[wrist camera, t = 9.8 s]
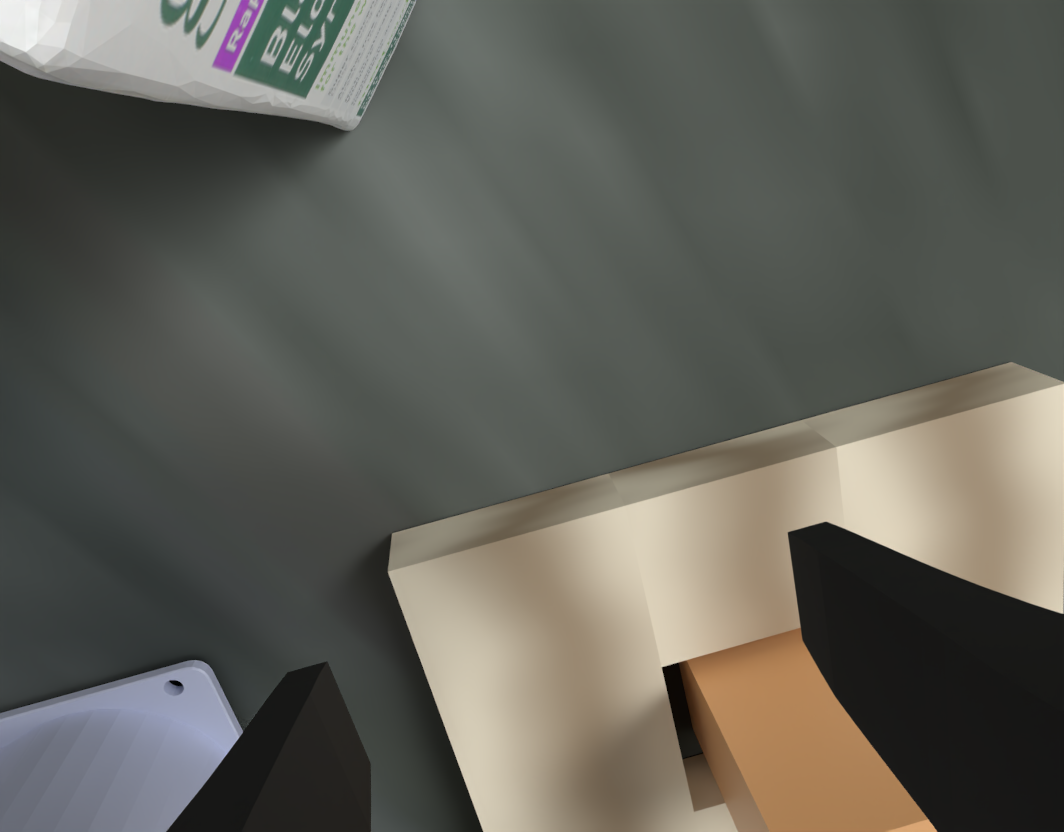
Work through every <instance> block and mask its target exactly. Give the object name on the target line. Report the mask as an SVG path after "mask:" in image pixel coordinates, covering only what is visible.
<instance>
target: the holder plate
mask: <svg viewBox="0 0 1064 832" xmlns="http://www.w3.org/2000/svg"><path fill="white" fill-rule="evenodd" d="M822 522H829V523H831V524H834V525H837V526H839V527H842V528H844V529H846V530H849V531H851V532H853V533H856V534H858V535H860V536H863V537H865V538H867V539H870V540H872V541H874V542H876V543H879V544H881V545H883V546H886V547H888V548H890V549H892V550H895V551H897V552H899V553H902V554H904V555H906V556H909V557H911V558H913V559H916V560H918V561H920V562H923V563H925V564H927V565H930V566H932V567H935V568H937V569H939V570H942V571H944V572H947V573H949V574H952V575H954V576H957V577H959V578H962V579H965V580H967V581H970V582H972V583H975V584H978V585H980V586H983V587H985V588H988V589H991V590H994V591H997V592H999V593H1002V594H1005V595H1008V596H1011V597H1014V598H1016V599H1019V600H1022V601H1025V602H1028V603H1030V604H1033V605H1036V606H1040V607H1043V608H1046V609H1049V610H1052V611H1055V612H1058V613H1062V614H1063V573H1064V382H1062V381H1059V380H1057V379H1054V378H1052V377H1049V376H1046V375H1044V374H1041V373H1039V372H1036V371H1033V370H1031V369H1028V368H1025V367H1023V366H1020V365H1018V364H1015V363H1012V362H1010V363H1006V364H1002V365H999V366H995V367H992V368H988V369H984V370H981V371H977V372H973V373H970V374H966V375H963V376H959V377H955V378H952V379H948V380H945V381H941V382H937V383H934V384H930V385H926V386H923V387H919V388H916V389H912V390H908V391H905V392H901V393H898V394H894V395H890V396H887V397H883V398H879V399H876V400H872V401H869V402H865V403H861V404H858V405H854V406H851V407H847V408H843V409H840V410H836V411H832V412H829V413H825V414H822V415H818V416H814V417H811V418H807V419H804V420H800V421H796V422H793V423H789V424H786V425H782V426H778V427H775V428H771V429H767V430H764V431H760V432H757V433H753V434H749V435H746V436H742V437H739V438H735V439H731V440H728V441H724V442H720V443H717V444H713V445H710V446H706V447H702V448H699V449H695V450H692V451H688V452H684V453H681V454H677V455H673V456H670V457H666V458H663V459H659V460H655V461H652V462H648V463H645V464H641V465H637V466H634V467H630V468H627V469H623V470H619V471H616V472H612V473H608V474H605V475H601V476H598V477H594V478H590V479H587V480H583V481H580V482H576V483H572V484H569V485H565V486H561V487H558V488H554V489H551V490H547V491H543V492H540V493H536V494H533V495H529V496H525V497H522V498H518V499H514V500H511V501H507V502H504V503H500V504H496V505H493V506H489V507H486V508H482V509H478V510H475V511H471V512H467V513H464V514H460V515H457V516H453V517H449V518H446V519H442V520H439V521H435V522H431V523H428V524H424V525H421V526H417V527H413V528H410V529H406V530H402V531H399V532H395V533H392V539H391V547H390V556H389V565H388V574H389V577H390V579H391V582H392V585H393V587H394V590H395V593H396V596H397V598H398V601H399V604H400V606H401V609H402V612H403V615H404V617H405V620H406V623H407V625H408V628H409V631H410V634H411V636H412V639H413V642H414V645H415V647H416V650H417V653H418V655H419V658H420V661H421V664H422V666H423V669H424V672H425V674H426V677H427V680H428V683H429V685H430V688H431V691H432V693H433V696H434V699H435V702H436V704H437V707H438V710H439V712H440V715H441V718H442V721H443V723H444V726H445V729H446V731H447V734H448V737H449V740H450V742H451V745H452V748H453V750H454V753H455V756H456V759H457V761H458V764H459V767H460V769H461V772H462V775H463V778H464V780H465V783H466V786H467V789H468V791H469V794H470V797H471V799H472V802H473V805H474V808H475V810H476V813H477V816H478V818H479V821H480V824H481V827H482V829H483V832H738V830H737V828H736V826H735V824H734V821H733V819H732V817H731V815H730V812H729V810H728V808H727V805H726V803H725V801H724V799H723V796H722V794H721V792H720V789H719V787H718V785H717V783H716V780H715V778H714V776H713V774H712V771H711V769H710V767H709V764H708V762H707V760H706V758H705V755H704V753H703V754H700V755H696V756H693V757H690V758H686V759H683V760H682V756H681V751H680V747H679V742H678V738H677V733H676V729H675V725H674V720H673V716H672V711H671V707H670V702H669V698H668V693H667V689H666V685H665V680H664V676H663V671H662V667H664V666H668V665H671V664H675V663H678V662H682V661H685V660H689V659H692V658H696V657H699V656H703V655H706V654H710V653H713V652H717V651H720V650H724V649H727V648H731V647H734V646H738V645H741V644H745V643H749V642H752V641H756V640H759V639H763V638H766V637H770V636H773V635H777V634H780V633H784V632H787V631H791V630H794V629H798V628H801V626H800V619H799V612H798V605H797V597H796V590H795V583H794V576H793V569H792V561H791V554H790V547H789V540H788V532H790V531H794V530H797V529H801V528H804V527H808V526H811V525H815V524H819V523H822Z"/></svg>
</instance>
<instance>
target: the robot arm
mask: <svg viewBox="0 0 1064 832" xmlns="http://www.w3.org/2000/svg"><path fill="white" fill-rule="evenodd" d="M788 540H789V547H790V554H791V561H792V569H793V576H794V583H795V590H796V597H797V605H798V612H799V619H800V626H801V634H802V640H803V642H804V644H805V646H806V647H807V649H808V651H809V653H810V655H811V656H812V658H813V660H814V662H815V663H816V665H817V667H818V669H819V670H820V672H821V674H822V676H823V677H824V679H825V681H826V682H827V684H828V686H829V687H830V689H831V691H832V692H833V694H834V696H835V697H836V699H837V700H838V701H839V703H840V704H841V705H842V707H843V708H844V709H845V711H846V712H847V713H848V715H849V716H850V717H851V719H852V720H853V721H854V723H855V724H856V725H857V727H858V728H859V729H860V731H861V732H862V733H863V735H864V736H865V737H866V739H867V740H868V741H869V743H870V744H871V745H872V747H873V748H874V749H875V750H876V752H877V753H878V754H879V756H880V757H881V758H882V760H883V761H884V762H885V763H886V765H887V766H888V767H889V769H890V770H891V771H892V773H893V774H894V775H895V777H896V778H897V779H898V780H899V782H900V783H901V784H902V786H903V787H904V788H905V790H906V791H907V792H908V794H909V795H910V796H911V797H912V799H913V800H914V801H915V803H916V804H917V805H918V807H919V808H920V809H921V810H922V812H923V813H924V814H925V816H926V817H927V818H928V820H929V821H930V822H931V824H932V825H933V826H934V828H935V829H936V830H937V832H1064V614H1062V613H1058V612H1055V611H1052V610H1049V609H1046V608H1043V607H1040V606H1036V605H1033V604H1030V603H1028V602H1025V601H1022V600H1019V599H1016V598H1014V597H1011V596H1008V595H1005V594H1002V593H999V592H997V591H994V590H991V589H988V588H985V587H983V586H980V585H978V584H975V583H972V582H970V581H967V580H965V579H962V578H959V577H957V576H954V575H952V574H949V573H947V572H944V571H942V570H939V569H937V568H935V567H932V566H930V565H927V564H925V563H923V562H920V561H918V560H916V559H913V558H911V557H909V556H906V555H904V554H902V553H899V552H897V551H895V550H892V549H890V548H888V547H886V546H883V545H881V544H879V543H876V542H874V541H872V540H870V539H867V538H865V537H863V536H860V535H858V534H856V533H853V532H851V531H849V530H846V529H844V528H842V527H839V526H837V525H834V524H831V523H829V522H822V523H819V524H815V525H811V526H808V527H804V528H801V529H797V530H794V531H790V532H788ZM169 680H176V681H179V682H181V683H182V684H183V686H175V685H173V684H171V683H170V681H169ZM0 832H371V769H370V761H369V759H368V756H367V754H366V752H365V749H364V747H363V745H362V742H361V740H360V738H359V735H358V733H357V730H356V728H355V726H354V723H353V721H352V719H351V716H350V714H349V712H348V709H347V707H346V704H345V702H344V700H343V697H342V695H341V693H340V690H339V688H338V686H337V683H336V681H335V679H334V676H333V674H332V671H331V669H330V667H329V664H328V662H323V663H320V664H316V665H313V666H309V667H305V668H302V669H298V670H295V671H291V672H288V673H287V674H286V675H285V677H284V678H283V679H282V680H281V681H280V683H279V684H278V685H277V687H276V688H275V689H274V691H273V692H272V693H271V695H270V696H269V697H268V699H267V700H266V701H265V703H264V704H263V706H262V707H261V708H260V710H259V711H258V712H257V714H256V715H255V717H254V718H253V719H252V721H251V722H250V723H249V725H248V726H247V728H246V729H245V730H244V732H243V731H242V729H241V727H240V725H239V723H238V721H237V719H236V717H235V714H234V712H233V710H232V708H231V706H230V704H229V702H228V700H227V698H226V696H225V694H224V692H223V690H222V688H221V686H220V684H219V682H218V680H217V678H216V676H215V674H214V672H213V670H212V669H211V667H210V666H209V665H208V664H206V663H204V662H203V661H198V660H190V661H185V662H182V663H178V664H174V665H171V666H167V667H164V668H160V669H157V670H153V671H149V672H146V673H142V674H139V675H135V676H131V677H128V678H124V679H121V680H117V681H114V682H110V683H106V684H103V685H99V686H96V687H92V688H89V689H85V690H81V691H78V692H74V693H71V694H67V695H63V696H60V697H56V698H53V699H49V700H46V701H42V702H38V703H35V704H31V705H28V706H24V707H20V708H17V709H13V710H10V711H6V712H3V713H0Z"/></svg>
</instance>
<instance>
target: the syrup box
mask: <svg viewBox="0 0 1064 832" xmlns="http://www.w3.org/2000/svg"><path fill="white" fill-rule="evenodd" d="M415 3H416V0H0V61H2V62H4V63H6V64H8V65H10V66H12V67H14V68H16V69H18V70H20V71H22V72H24V73H26V74H29V75H32V76H35V77H37V78H41V79H46V80H50V81H54V82H59V83H63V84H67V85H73V86H78V87H83V88H89V89H94V90H100V91H105V92H110V93H116V94H121V95H127V96H133V97H139V98H145V99H148V100H152V101H157V102H168V103H180V104H188V105H194V106H201V107H207V108H214V109H222V110H234V111H244V112H248V113H259V114H268V115H277V116H284V117H290V118H297V119H304V120H311V121H316V122H320V123H324V124H329V125H332V126H334V127H336V128H339V129H342V130H346V131H352V130H353V129H354V128H355V127H356V126H357V125H358V124H359V122H360V120H361V118H362V116H363V114H364V112H365V110H366V108H367V106H368V104H369V102H370V100H371V98H372V96H373V94H374V92H375V90H376V88H377V86H378V84H379V82H380V80H381V77H382V75H383V73H384V71H385V69H386V67H387V65H388V63H389V61H390V59H391V57H392V55H393V52H394V50H395V48H396V46H397V44H398V42H399V39H400V37H401V35H402V32H403V30H404V28H405V26H406V23H407V21H408V19H409V16H410V14H411V12H412V10H413V7H414V5H415Z"/></svg>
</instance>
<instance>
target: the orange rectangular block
mask: <svg viewBox="0 0 1064 832" xmlns="http://www.w3.org/2000/svg"><path fill="white" fill-rule="evenodd" d="M679 667H680V671H681V676H682V681H683V685H684V690H685V695H686V700H687V704H688V709H689V714H690V718H691V723H692V728H693V730H694V733H695V735H696V737H697V739H698V742H699V744H700V746H701V748H702V751H703V753H704V755H705V758H706V760H707V762H708V764H709V767H710V769H711V771H712V774H713V776H714V778H715V780H716V783H717V785H718V787H719V789H720V792H721V794H722V796H723V799H724V801H725V803H726V805H727V808H728V810H729V812H730V815H731V817H732V819H733V821H734V824H735V826H736V828H737V830H738V832H937V830H936V829H935V828H934V826H933V825H932V824H931V822H930V821H929V820H928V818H927V817H926V816H925V814H924V813H923V812H922V810H921V809H920V808H919V807H918V805H917V804H916V803H915V801H914V800H913V799H912V797H911V796H910V795H909V794H908V792H907V791H906V790H905V788H904V787H903V786H902V784H901V783H900V782H899V780H898V779H897V778H896V777H895V775H894V774H893V773H892V771H891V770H890V769H889V767H888V766H887V765H886V763H885V762H884V761H883V760H882V758H881V757H880V756H879V754H878V753H877V752H876V750H875V749H874V748H873V747H872V745H871V744H870V743H869V741H868V740H867V739H866V737H865V736H864V735H863V733H862V732H861V731H860V729H859V728H858V727H857V725H856V724H855V723H854V721H853V720H852V719H851V717H850V716H849V715H848V713H847V712H846V711H845V709H844V708H843V707H842V705H841V704H840V703H839V701H838V700H837V699H836V697H835V696H834V694H833V692H832V691H831V689H830V687H829V686H828V684H827V682H826V681H825V679H824V677H823V676H822V674H821V672H820V670H819V669H818V667H817V665H816V663H815V662H814V660H813V658H812V656H811V655H810V653H809V651H808V649H807V647H806V646H805V644H804V642H803V640H802V634H801V628H798V629H794V630H791V631H787V632H784V633H780V634H777V635H773V636H770V637H766V638H763V639H759V640H756V641H752V642H749V643H745V644H741V645H738V646H734V647H731V648H727V649H724V650H720V651H717V652H713V653H710V654H706V655H703V656H699V657H696V658H692V659H689V660H685V661H682V662H679Z"/></svg>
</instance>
